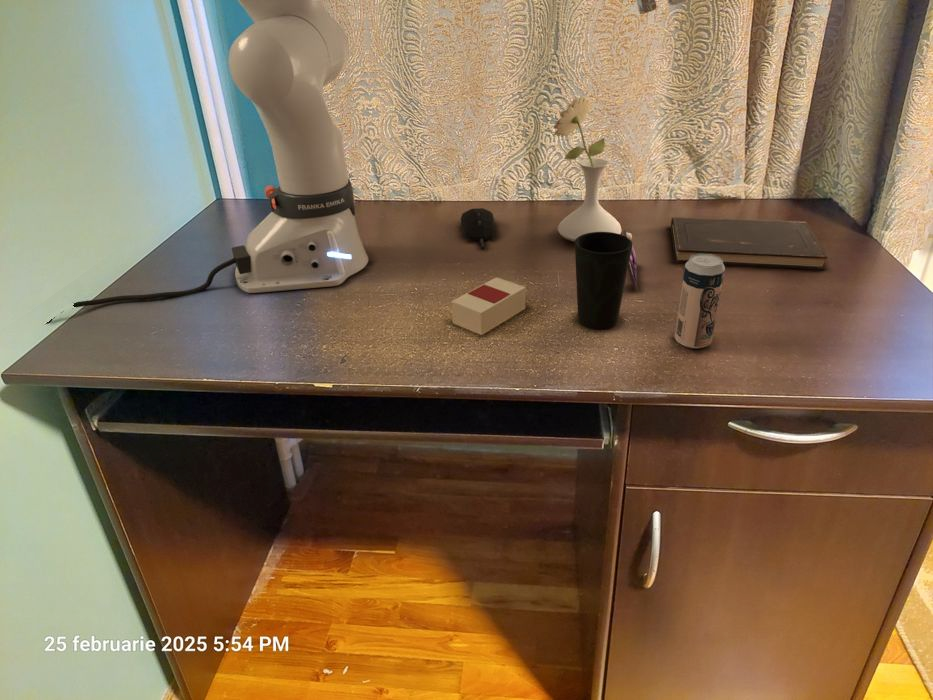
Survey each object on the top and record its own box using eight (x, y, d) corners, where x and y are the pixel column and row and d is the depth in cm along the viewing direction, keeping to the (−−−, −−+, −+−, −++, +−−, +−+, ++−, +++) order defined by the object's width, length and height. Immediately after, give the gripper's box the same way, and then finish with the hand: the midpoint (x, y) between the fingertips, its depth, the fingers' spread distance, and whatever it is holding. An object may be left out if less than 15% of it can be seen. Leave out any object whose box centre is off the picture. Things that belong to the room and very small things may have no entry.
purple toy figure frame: (630, 250, 99) (630, 228, 107) (596, 259, 101) (598, 237, 109) (641, 289, 102) (640, 265, 110) (608, 297, 104) (609, 273, 112)
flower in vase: (600, 222, 128) (610, 84, 114) (633, 243, 118) (647, 96, 105) (538, 233, 124) (541, 92, 111) (567, 256, 115) (574, 105, 102)
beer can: (705, 354, 87) (720, 270, 80) (669, 345, 89) (681, 263, 83) (715, 337, 90) (730, 256, 84) (680, 329, 92) (692, 249, 86)
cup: (591, 338, 91) (597, 258, 85) (560, 315, 97) (563, 238, 91) (636, 324, 94) (644, 245, 88) (602, 303, 100) (608, 227, 94)
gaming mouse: (465, 250, 119) (464, 229, 117) (460, 220, 131) (459, 200, 129) (500, 247, 119) (500, 226, 117) (491, 218, 132) (491, 199, 130)
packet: (481, 335, 93) (480, 312, 91) (452, 323, 96) (451, 300, 94) (525, 308, 99) (525, 286, 97) (496, 298, 103) (496, 276, 101)
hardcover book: (824, 269, 107) (827, 256, 105) (675, 262, 111) (677, 249, 110) (802, 232, 120) (805, 220, 119) (670, 227, 124) (672, 215, 123)
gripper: (582, -92, 82) (610, 25, 87) (639, -146, 63) (671, 8, 69) (630, -111, 82) (655, 7, 87) (702, -170, 63) (729, -15, 68)
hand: (663, 8), depth 78 cm, fingers open, 8 cm apart
